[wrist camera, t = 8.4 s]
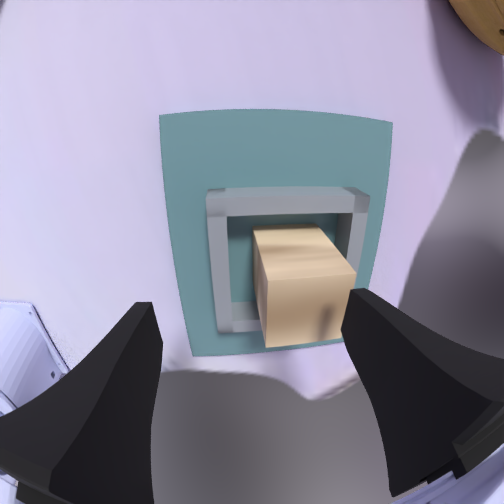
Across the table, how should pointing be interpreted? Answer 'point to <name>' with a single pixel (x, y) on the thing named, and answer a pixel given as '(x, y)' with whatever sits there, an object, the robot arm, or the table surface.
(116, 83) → the table surface
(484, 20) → the pot
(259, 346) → the dock
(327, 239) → the peg
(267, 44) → the table surface
